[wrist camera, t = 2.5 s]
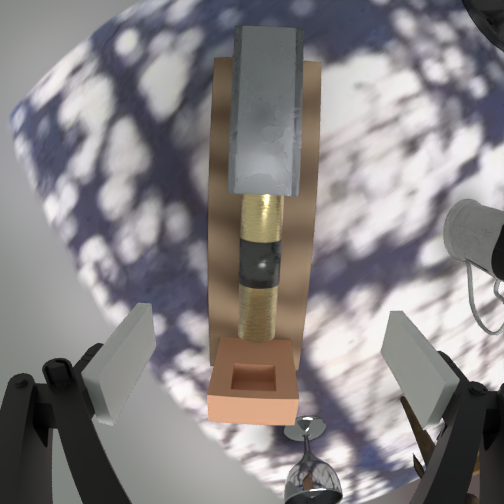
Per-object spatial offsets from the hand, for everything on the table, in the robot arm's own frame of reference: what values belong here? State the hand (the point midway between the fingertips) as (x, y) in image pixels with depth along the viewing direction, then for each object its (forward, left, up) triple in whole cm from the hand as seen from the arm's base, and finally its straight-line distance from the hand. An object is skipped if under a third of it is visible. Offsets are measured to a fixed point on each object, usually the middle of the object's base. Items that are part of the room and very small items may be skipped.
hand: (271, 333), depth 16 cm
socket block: (+15, -1, -20) cm, 25 cm away
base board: (-2, -1, -21) cm, 21 cm away
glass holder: (0, +27, -21) cm, 35 cm away
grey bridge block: (-13, -1, -20) cm, 24 cm away
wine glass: (+32, +8, -21) cm, 39 cm away
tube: (-6, -1, -14) cm, 15 cm away
